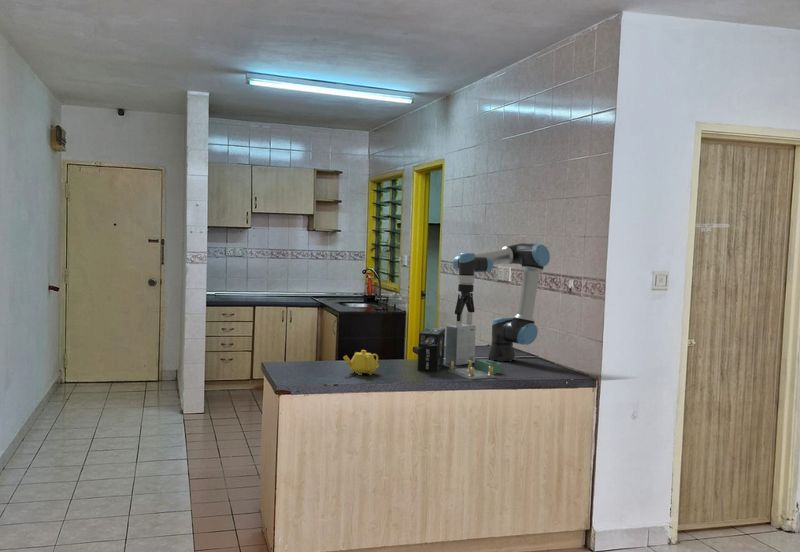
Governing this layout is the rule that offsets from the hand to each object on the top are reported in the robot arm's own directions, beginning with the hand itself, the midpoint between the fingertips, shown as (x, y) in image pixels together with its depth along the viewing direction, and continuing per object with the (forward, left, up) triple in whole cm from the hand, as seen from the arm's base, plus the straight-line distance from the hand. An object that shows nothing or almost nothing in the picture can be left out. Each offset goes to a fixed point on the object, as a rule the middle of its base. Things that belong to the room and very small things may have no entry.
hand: (464, 326), depth 363 cm
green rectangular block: (-10, +7, -22) cm, 25 cm away
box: (+14, -8, -22) cm, 27 cm away
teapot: (+55, -3, -22) cm, 59 cm away
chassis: (+4, +13, -22) cm, 26 cm away
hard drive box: (-8, -16, -22) cm, 28 cm away
